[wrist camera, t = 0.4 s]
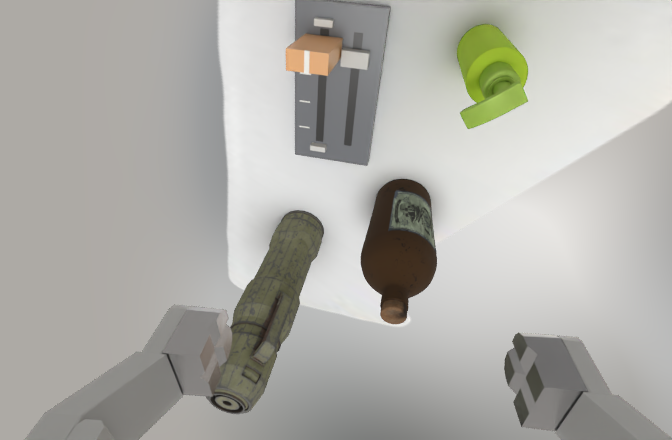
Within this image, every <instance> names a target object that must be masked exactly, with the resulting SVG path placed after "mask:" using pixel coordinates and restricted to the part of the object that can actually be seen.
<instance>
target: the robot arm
mask: <svg viewBox="0 0 672 440" xmlns="http://www.w3.org/2000/svg"><path fill="white" fill-rule="evenodd" d="M227 320H228V314H227V311H226V310H223V309H214V308H205V307H195V306H184V305H173V306H172V307H171V308H169V310H168V311H167V313H166V314H165V316H164V317H163V319H162V321H161V322H160V324H159V325H158V327H157V329H156V330H155V332H154V333H153V335H152V337H151V338H150V340H149V341H148V343H147V344H146V346H145V348H144V349H143V351H142V352H135V353H134V354H132V355H131V356H129V357H128V358H126V359H125V360H123V361H122V362H121V363H119V364H117V365H116V366H114V367H113V368H111V369H110V370H109V371H107V372H105V373H104V374H103V375H101V376H99V377H98V378H97V379H95V380H94V381H92V382H90V383H89V384H87V385H86V386H84V387H83V388H82V389H80V390H78V391H77V392H75V393H74V394H72V395H71V396H69V397H68V398H66V399H65V400H63V401H62V402H60V403H59V404H57V405H56V406H54V407H53V408H51V409H50V410H48V411H47V412H45V413H44V415H43V416H42V417H41V419H40V420H39V421H38V423H37V424H36V425H35V426H34V428H33V429H32V430H31V432H30V433H29V435H28V436H27V437H26V438H25V440H139V439H140V438H141V437H142V436H143V435H144V434H145V433H146V432H147V431H148V430H149V429H150V428H151V427H152V426H153V425H154V424H155V423H156V422H157V421H158V420H159V419H160V418H161V417H162V416H163V415H164V414H166V413H167V412H168V410H170V409H171V408H172V407H173V406H174V405H175V404H176V403H177V402H178V401H179V400H180V399H181V398H182V397H183V395H195V396H210V397H213V395H214V392H215V390H216V387H217V385H218V382H219V380H220V377H221V371H220V368H219V367H220V366H221V365H222V364H223V363H225V362H226V361H227V359H228V356H229V354H230V350H231V345H232V331H231V328H230V327H229V326H228V325H227V324H226V323H227ZM512 342H513V344H514V347H515V348H513V349H511V350H510V351H508V352H507V355H506V358H505V367H504V370H505V376H506V380H507V383H508V386H509V387H510V388H511V389H512V390H513V391H514V392H515V393H516V394H517V395H516V398H515V400H514V405H515V409H516V412H517V415H518V418H519V421H520V424H521V427H526V428H534V429H541V430H550V431H556V434H557V436H558V437H559V438H560V439H561V440H672V438H671V437H670V436H668V435H667V434H666V433H665V432H663V431H662V430H661V429H660V428H658V427H657V426H656V425H655V424H654V423H652V422H651V421H650V420H649V419H647V418H646V417H645V416H644V415H642V414H641V413H640V412H639V411H637V410H636V409H635V408H634V407H633V406H631V405H630V404H629V403H627V402H626V401H625V400H624V399H622V398H621V397H620V396H619V395H612V393H611V391H610V390H609V388H608V386H607V384H606V382H605V381H604V379H603V377H602V376H601V374H600V372H599V370H598V369H597V367H596V365H595V363H594V361H593V360H592V358H591V356H590V355H589V353H588V351H587V349H586V347H585V346H584V344H583V342H582V341H581V340H580V339H579V338H578V337H569V336H556V335H546V334H532V333H518V334H516V335H515V336H514V339H513V341H512Z"/></svg>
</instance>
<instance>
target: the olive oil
mask: <svg viewBox="0 0 672 440" xmlns="http://www.w3.org/2000/svg"><path fill="white" fill-rule="evenodd" d="M436 266H437V257H436V248H435V240H434V232H433V223H432V211H431V200H430V196H429V194H428V192H427V190H426V189H425V188H424V187H423V186H422V185H420V184H419V183H417V182H415V181H412V180H407V179H399V180H394V181H391V182H389V183H387V184H386V185H384V186H383V187H382V188H381V189H380V191H379V192H378V194H377V197H376V201H375V205H374V209H373V213H372V217H371V221H370V224H369V228H368V231H367V235H366V238H365V242H364V245H363V249H362V253H361V267H362V271H363V275H364V277H365V279H366V281H367V282H368V284H369V285H370V286H371V287H372V288H373V289H374V290H375V291H377V292H378V293H380V294H381V295H382V299H381V305H380V306H381V318H382V319H383V320H384V321H386V322H388V323H391V324H400V323H403V322H404V321H405V320H406V318H407V311H408V298H410V297H413V296H415V295H417V294H419V293H420V292H422V291H423V290H425V289H426V288H427V287H428V285H429V284H430V282H431V281H432V279H433V276H434V274H435V271H436Z"/></svg>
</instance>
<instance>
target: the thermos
mask: <svg viewBox="0 0 672 440" xmlns="http://www.w3.org/2000/svg"><path fill="white" fill-rule="evenodd" d="M323 234H324V229H323V226H322V223H321V222H320V221H319V220H318V218H317V217H315V216H314V215H312V214H311V213H308V212H305V211H298V210H297V211H292V212H289V213H288V214H286V215H285V216H284V217H283V219H282V221H281V223H280V224H279V225H278V227H277V228H276V230H275V232H274V234H273V236H272V239H271V242H270V245H269V251H268V253H267V254H266V256H265V258H264V260H263V262H262V264H261V266H260V268H259V270H258V272H257V274H256V276H255V278H254V279H253V280H251V282H250V283H249V284H248V285H247V287H246V289H245V291H244V293H243V295H242V297H241V298H240V301H239V302H238V304H237V306H236V308H235V310H234V315H233V323H232V325H231V327H230V328H231V331H232V345H231V350H230V354H229V356H228V359H227V361H226V362H225V363H223V364H222V365H221V366H220V367H219V368H220V371H221V377H220V380H219V382H218V385H217V387H216V390H215V392H214V395H213V397H210V396H206V398H207V399H208V400H209V401H210V403H211V404H212V405H213V406H214V407H216V408H218V409H219V410H221V411H224V412H227V413H231V414H240V413H247V412H249V411H250V410H251V409H252V408H253V406H254V405H255V404H256V402H257V401H258V400H259V399H260V397H261V395H262V394H263V393H264V390H265V388H266V385H267V382H268V379H269V377H270V374H271V371H272V368H273V365H274V363H275V360H276V357H277V352H278V351H279V349H280V346H281V344H282V342H283V341H284V340H285V339H286V338H287V336H288V335H289V333H290V330H291V327H292V325H293V322H294V319H295V316H296V313H297V310H298V307H299V304H300V301H299V296H300V293H301V290H302V287H303V284H304V282H305V279H306V276H307V273H308V270H309V268H310V265H311V262H312V261H313V260H314V259H315V258H316V257H317V254H318V251H319V248H320V245H321V242H322V241H321V240H322V237H323Z"/></svg>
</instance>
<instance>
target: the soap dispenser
mask: <svg viewBox="0 0 672 440" xmlns="http://www.w3.org/2000/svg"><path fill="white" fill-rule="evenodd" d="M457 58H458V61H459V65H460V68H461V72H462V75H463V79H464V82H465V85H466V89H467V92H468V94H469V96H470V97H471V98H472V99H473V100H474V101H475V102H476V103H477V104H474V105H472V106H470V107H468V108H466V109H464V110H462V111H461V112H460V115H461V117H462V119H463V121H464V122H465V124H466V126H467V128H468V129H471V128H473V127H476V126H479V125H481V124H484V123H486V122H488V121H491V120H493V119H495V118H497V117H499V116H501V115H503V114H505V113H507V112H509V111H511V110H513V109H515V108H516V107H518V106H520V105H522V104H524V103H526V102H528V99H527V97H526V95H525V92H524V90H523V87H524V85H525V83H526V80H527V76H528V66H527V63H526V60H525V58H524V57H523V55H522V54H521V53H520V52H519V51H518V50H517V49H516V48H515V46H514V45H513V44H512V43H511V42H510V41H509V40H508V39H507V37H506V36H505V35H504V34H503V33H502V32H501V31H500V30H499V29H498V28H497V27H495V26H493V25H488V24H483V25H478V26H476V27H473V28H472V29H470V30H469V31H468V32H467V33H466V34H465V35H464V36H463V37H462V39H461V40H460V42H459V45H458V49H457Z"/></svg>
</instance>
